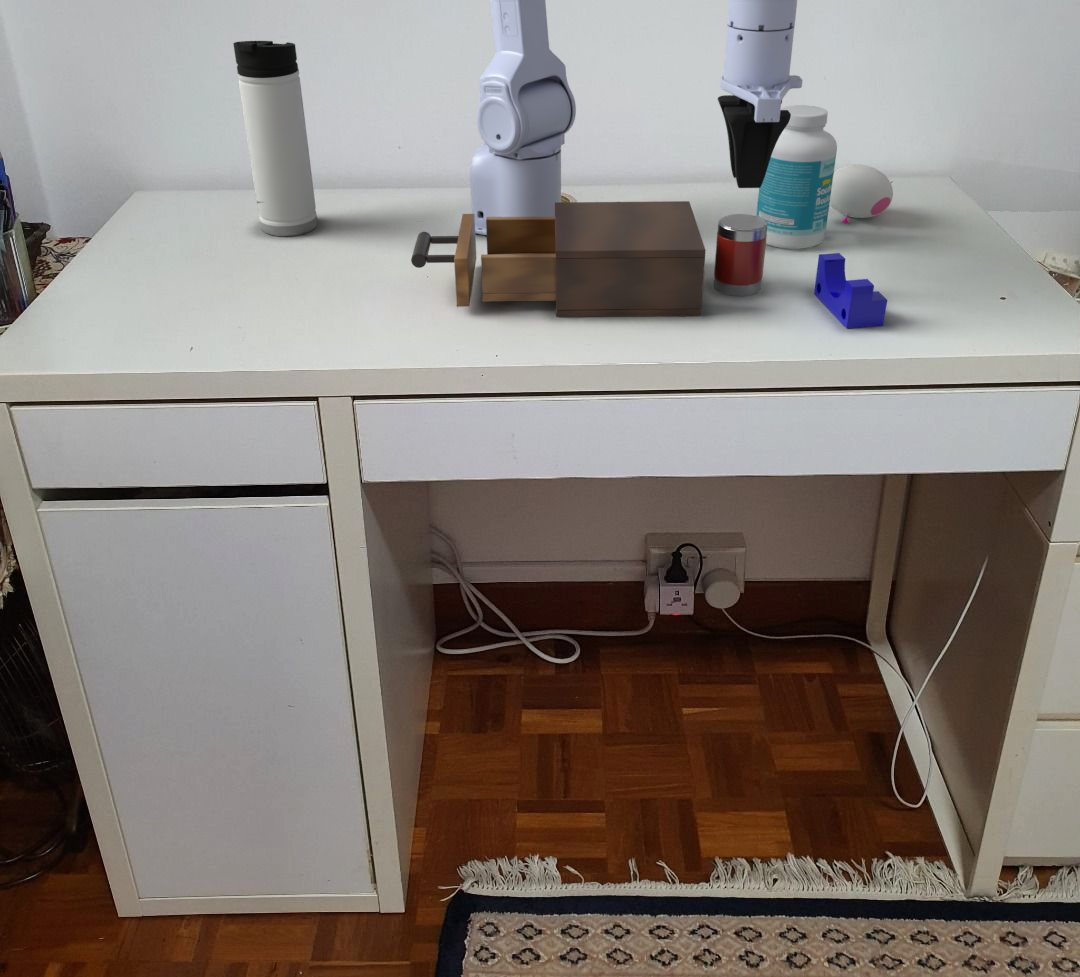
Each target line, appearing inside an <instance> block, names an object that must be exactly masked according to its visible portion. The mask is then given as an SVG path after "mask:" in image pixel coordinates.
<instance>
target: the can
mask: <svg viewBox="0 0 1080 977" xmlns="http://www.w3.org/2000/svg"><path fill="white" fill-rule="evenodd" d="M767 225H768V224H767V222H766V221H765V220H764V219H763V218H761V217H758V216H756V215H753V214H746V213H734V214H733V213H732V214H728V215H724V216H723V217H721V218H720V219H719V220H718V222H717V230H716V231H717V232H716V241H715V242H716V244H715V255H714V268H713V283H712V284H713V286H712V287H713V289H714V290H715V291H717V292H718V293H720V294H723V295H725V296H732V297H748V296H753V295H756V294H758V293H759V292H760V291H761V289H762V284H763V277H764V276H763V275H764V266H765V257H766V247H767V244H766V238H767Z"/></svg>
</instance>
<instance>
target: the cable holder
mask: <svg viewBox="0 0 1080 977" xmlns="http://www.w3.org/2000/svg"><path fill="white" fill-rule="evenodd" d="M816 266H817V267H816V275H815V282H814V290H813V295H814V296H815V297H816V298H817V299H818V300H819V302H821V304H822V305H823V306H824V307H825V308H826V310H828V311H829V312H830V313H831V314H832V316H834V317H835V318H836V320H838V321H839V323H841V325H842V326H843V327H844V328H845V329H860V328H870V327H880V326H881V327H882V326H884V323H885V317H886V313H887V312H886V311H887V306H888V298H886V296H884V294H882V293H881V292H880V291H879V290H875V291H874V289H875V285H874V283H872V282H871V281H870V280H869V279H868V278H860V279H849V280H847V279H846V257H845V256H843V255H842V254H841V253H840V252H831V253H821V254H818V260H817V265H816Z"/></svg>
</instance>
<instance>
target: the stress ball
mask: <svg viewBox="0 0 1080 977" xmlns="http://www.w3.org/2000/svg"><path fill="white" fill-rule="evenodd" d="M893 182H894V180H892V181H890V179H889V178H888V177H887V175H885V174H884V173H883V172H882V171H880V170H879V169H877V168H875V167H873V166H869V165H866V164H858V163H856V164H848V165H844V166H841V167H839V168H837V169H834V175H833V182H832V189H831V197H830V204H829V206H831V207H832V208H833V209H834V210H835V211H837V213H840V214H842V215H844V216H846V217H845V218H844V219H843V220H841V221H840V223H843V224H848V225H850V222H849V219H848V217H850V218H855V219H866V218H873V217H875V216H877V215H880V214H881V213H883V212H884V211H886V210H887V209H888V207H889V206H890V205H891V203H892V201H893V197H894V189H893V185H892V183H893Z"/></svg>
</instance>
